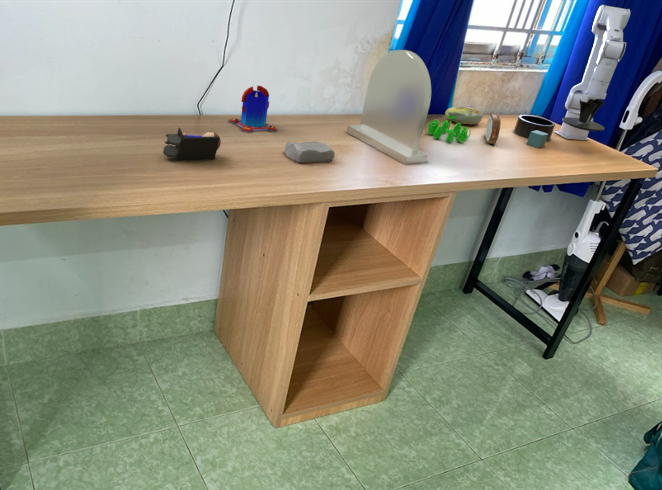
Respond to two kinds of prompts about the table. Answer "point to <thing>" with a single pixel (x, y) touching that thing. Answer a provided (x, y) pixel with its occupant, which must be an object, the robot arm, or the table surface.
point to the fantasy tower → (254, 110)
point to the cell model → (464, 115)
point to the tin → (492, 128)
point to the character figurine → (192, 146)
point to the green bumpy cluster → (447, 130)
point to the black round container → (533, 125)
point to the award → (396, 107)
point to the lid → (583, 124)
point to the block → (537, 139)
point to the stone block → (309, 152)
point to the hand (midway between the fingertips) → (584, 121)
